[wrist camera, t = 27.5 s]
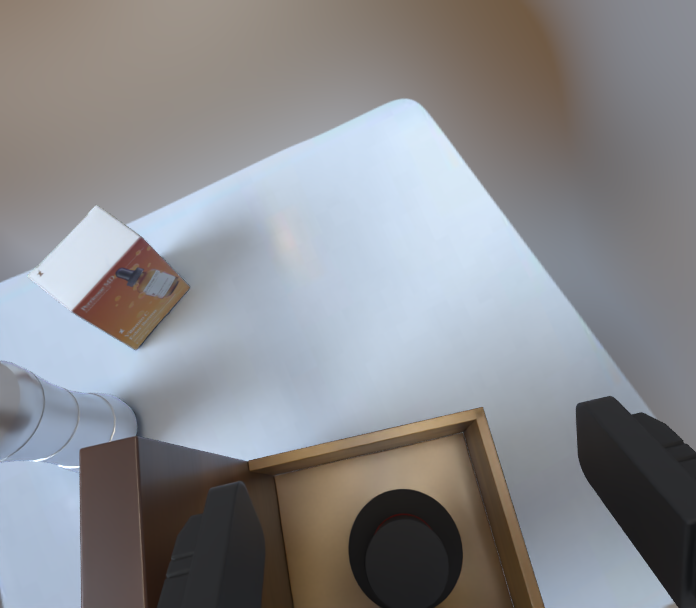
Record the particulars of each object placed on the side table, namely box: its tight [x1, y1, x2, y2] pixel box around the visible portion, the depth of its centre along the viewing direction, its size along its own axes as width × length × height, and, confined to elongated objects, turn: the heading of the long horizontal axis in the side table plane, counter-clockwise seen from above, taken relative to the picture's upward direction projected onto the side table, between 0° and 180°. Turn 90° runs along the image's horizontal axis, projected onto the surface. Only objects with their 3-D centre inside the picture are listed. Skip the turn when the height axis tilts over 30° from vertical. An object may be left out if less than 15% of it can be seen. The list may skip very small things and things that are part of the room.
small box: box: [27, 205, 190, 350], centre depth 45 cm, size 8×6×10 cm
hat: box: [348, 489, 463, 608], centre depth 28 cm, size 7×7×8 cm
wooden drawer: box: [79, 407, 545, 608], centre depth 27 cm, size 16×13×28 cm
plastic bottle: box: [0, 361, 137, 473], centre depth 36 cm, size 6×7×20 cm
